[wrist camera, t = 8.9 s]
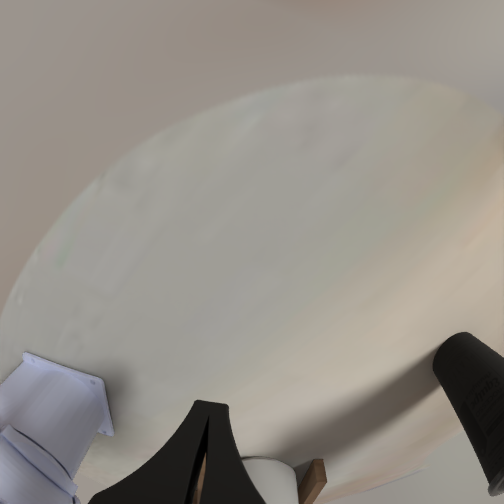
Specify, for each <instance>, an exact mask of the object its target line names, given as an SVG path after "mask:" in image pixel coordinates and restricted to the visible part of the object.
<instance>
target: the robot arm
mask: <svg viewBox="0 0 504 504" xmlns="http://www.w3.org/2000/svg"><path fill="white" fill-rule="evenodd" d="M22 356H23V360H24V361H23V362H22V363H21V364H20V365H19V366H18V367H17V368H16V369H15V370H14V371H13V372H12V373H11V374H10V375H9V376H8V378H7V379H6V380H5V381H4V382H3V383H2V384H1V385H0V504H81V503H80V500H79V499H78V497H77V496H76V495H75V492H76V490H77V488H78V486H77V485H76V484H75V483H74V482H73V481H72V480H73V478H74V476H75V474H76V472H77V470H78V468H79V466H80V464H81V462H82V461H83V459H84V457H85V455H86V453H87V451H88V449H89V447H90V445H91V443H92V441H93V439H94V437H95V435H96V434H97V432H98V433H101V434H104V435H108V436H113V435H114V429H113V425H112V420H111V416H110V411H109V406H108V401H107V396H106V391H105V385H104V382H103V380H102V379H101V378H98V377H95V376H92V375H89V374H86V373H82V372H79V371H76V370H73V369H70V368H68V367H65V366H62V365H59V364H56V363H54V362H51V361H48V360H46V359H43V358H40V357H38V356H35V355H33V354H30V353H28V352H24V353H23V354H22ZM205 454H206V465H205V474H204V480H203V485H202V491H201V497H200V502H199V504H266V502H265V501H264V499H263V498H262V496H261V495H260V493H259V492H258V490H257V489H256V487H255V486H254V484H253V482H252V480H251V479H250V477H249V475H248V473H247V471H246V469H245V467H244V464H243V462H242V460H241V457H240V455H239V452H238V449H237V447H236V443H235V440H234V437H233V433H232V429H231V424H230V419H229V406H228V405H227V404H222V403H215V402H209V401H202V400H196V401H194V404H193V406H192V408H191V410H190V411H189V413H188V415H187V416H186V418H185V419H184V421H183V422H182V424H181V425H180V426H179V428H178V429H177V430H176V432H175V433H174V434H173V436H172V437H171V438H170V439H169V440H168V441H167V442H166V444H165V445H164V446H163V447H162V448H161V449H160V450H159V451H158V452H157V453H156V454H155V455H154V456H153V457H152V458H151V459H150V460H148V461H147V462H146V463H145V464H144V465H142V466H141V467H140V468H139V469H137V470H136V471H135V472H133V473H132V474H130V475H129V476H127V477H126V478H124V479H123V480H121V481H119V482H118V483H116V484H114V485H113V486H111V487H109V488H107V489H105V490H103V491H101V492H99V493H97V494H95V495H94V496H93V497H92V498H91V500H90V501H89V503H88V504H193V499H194V494H195V490H196V487H197V483H198V479H199V476H200V472H201V468H202V465H203V461H204V457H205Z"/></svg>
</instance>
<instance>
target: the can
mask: <svg viewBox="0 0 504 504" xmlns="http://www.w3.org/2000/svg"><path fill="white" fill-rule="evenodd" d="M242 462H243V464H244V467H245V469H246V471H247V473H248V475H249V477H250V479H251V480H252V482H253V484H254V486H255V487H256V489H257V490H258V492H259V493H260V495H261V496H262V498H263V499H264V501H265V502H266V504H299V503H298V493H297V483H296V474H295V472H294V470H293V469H292V468H291V467H290V466H288V465H287V464H284V463H282V462H281V461H279V460H276V459H273V458H267V457H251V458H245V459H242Z"/></svg>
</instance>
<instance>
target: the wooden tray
mask: <svg viewBox="0 0 504 504" xmlns="http://www.w3.org/2000/svg"><path fill="white" fill-rule="evenodd" d="M205 465H206V454H205V457H204V461H203V465H202V468H201V472H200V476H199V479H198V490H195V494H194V499H193V504H199V502H200V497H201V491H202V485H203V480H204V474H205ZM326 483H327V478H326V472H325V467H324V462H323V459H314V460H313V462H312V464H311V466H310V467H309V469H308V471H307V473H306V475H305V477H304V479H303V481H302V482H301V484H300V486H299V488H298V490H297V493H298V503H299V504H312V503H313V502H314V501H315V499H316V498H317V496H318V495H319V493H320V492H321V490H322V489H323V487H324V486H325V484H326Z"/></svg>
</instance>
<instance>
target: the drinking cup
mask: <svg viewBox="0 0 504 504" xmlns="http://www.w3.org/2000/svg"><path fill="white" fill-rule="evenodd" d="M433 371H434V373H435V375H436V377H437V379H438V380H439V382H440V384H441V386H442V388H443V389H444V391H445V393H446V395H447V397H448V399H449V400H450V402H451V404H452V406H453V408H454V410H455V412H456V414H457V416H458V418H459V420H460V422H461V424H462V426H463V428H464V430H465V432H466V434H467V436H468V438H469V440H470V442H471V444H472V446H473V448H474V451H475V453H476V455H477V457H478V459H479V462H480V464H481V466H482V468H483V471H484V473H485V475H486V478H487V480H488V483H489V487H488V492H489V494H490V496H497V495H500V494H502V493H504V358H503V357H502V356H501V355H499V354H498V353H497V352H495V351H494V350H492V349H491V348H490V347H488V346H487V345H486V344H484V343H483V342H481V341H480V340H479V339H477V338H476V337H474V336H473V335H472V334H470V333H468V332H461V333H458V334H455V335H454V336H452V337H450V338H449V339H448V340H447V341H446V342H445V343H444V344H443V345H442V346H441V347H440V349H439V350H438V352H437V354H436V356H435V358H434V361H433Z"/></svg>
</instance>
